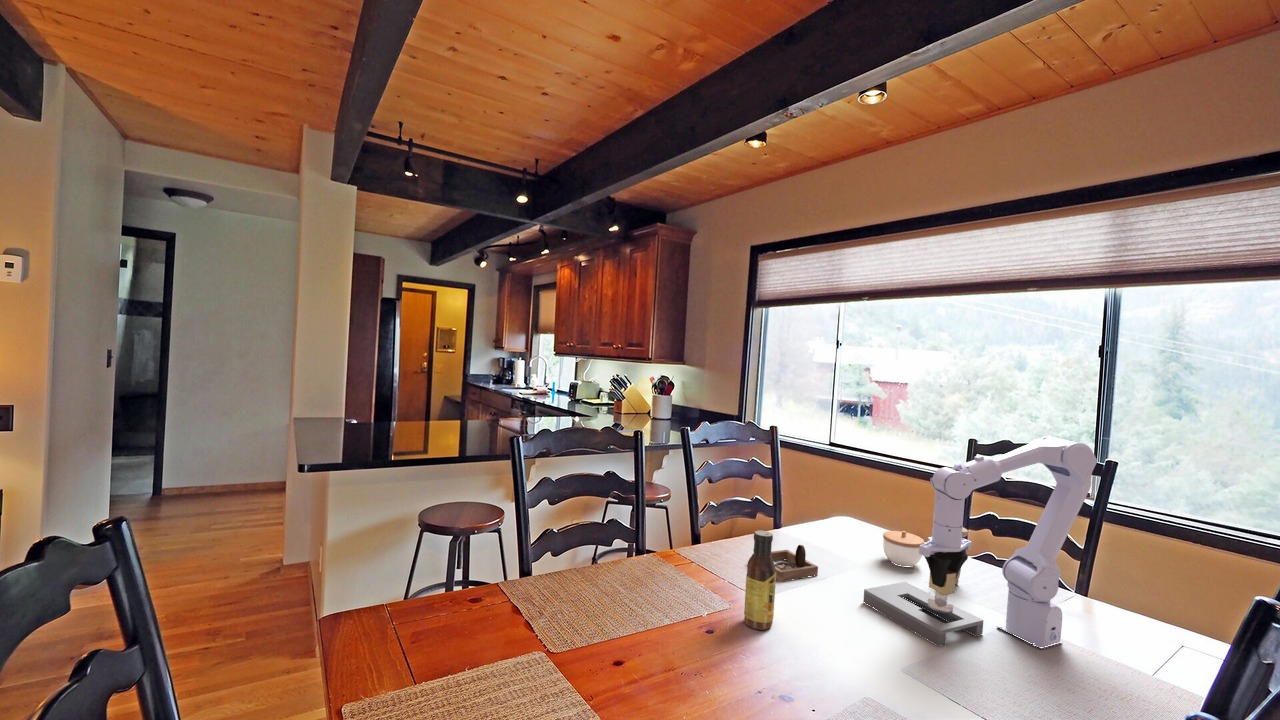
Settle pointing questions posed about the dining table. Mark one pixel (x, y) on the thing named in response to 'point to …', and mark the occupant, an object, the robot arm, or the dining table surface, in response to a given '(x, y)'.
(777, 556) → the rim
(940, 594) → the keyhole peg
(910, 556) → the lidded jar
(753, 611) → the sauce bottle
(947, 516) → the robot arm
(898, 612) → the keyhole board
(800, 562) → the compass
